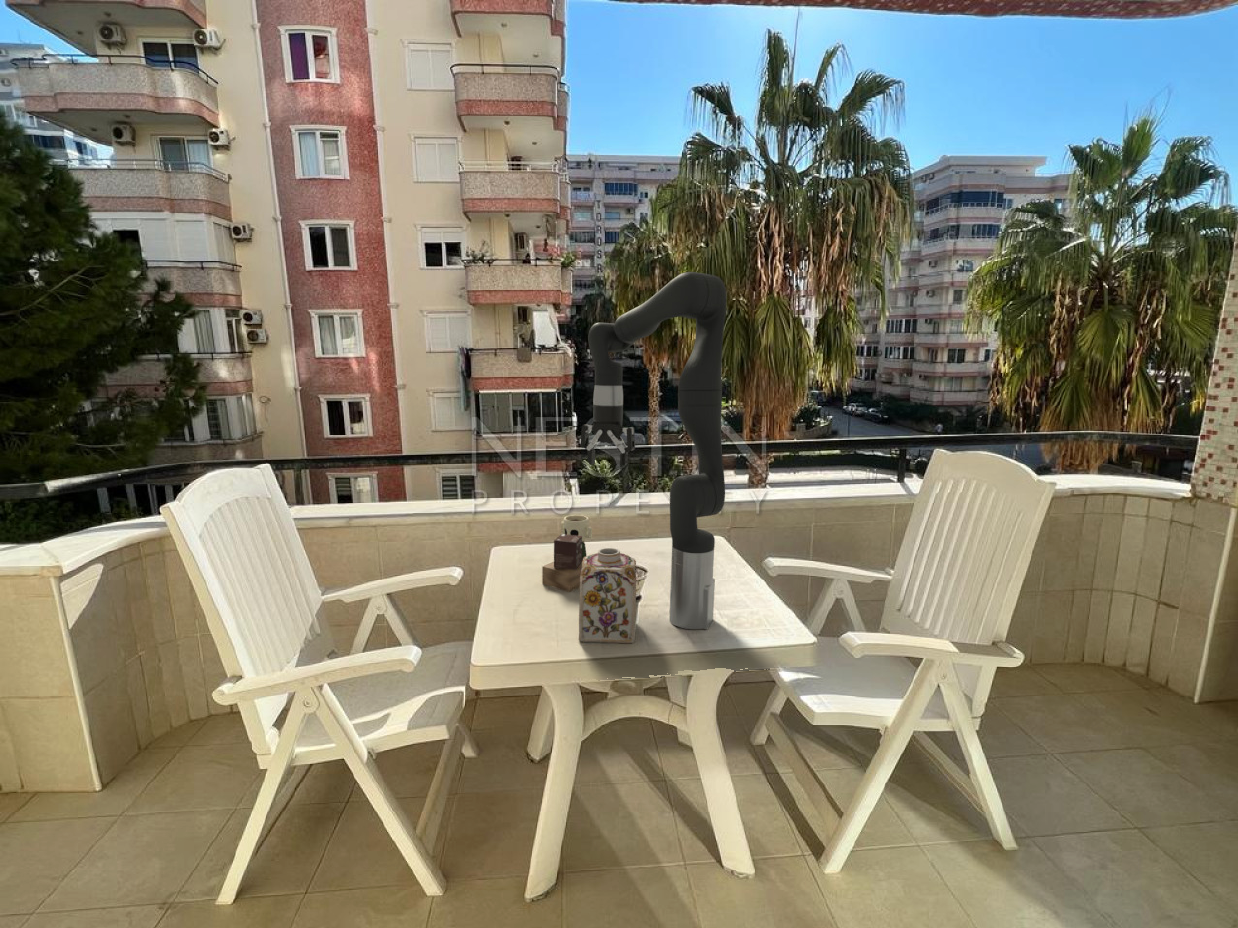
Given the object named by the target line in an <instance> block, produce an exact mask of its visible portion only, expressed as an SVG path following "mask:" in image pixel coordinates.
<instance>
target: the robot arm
mask: <svg viewBox="0 0 1238 928" xmlns="http://www.w3.org/2000/svg"><path fill="white" fill-rule="evenodd" d="M726 311H727V290H726V286H725V283H724V281H723V280H722V278H721V277H719V276H717V275H714V274H709V273H704V272H703V273H702V272H695V271H686V272H682V273H680V274H678V275H676V277H674V278H673V279H671V280H670V281H669V282H668V283H667V284H666V285H664V286H663V287H662V288H661V289H659V290H658V291H657V292H656V293H654V295H653V296H651V297H650V298H649V299H647V300H646V301H644V302H643V303H642V304H640V305H639V306H636V307H635V308H632V309H631V310H628V311H627V312H625V313H622V314H621V315H620V316H619V317H618V318H617V319H616V320H615V322H610V323H609V322H595V323H594V324H593V325H592V326H591V327H590V329H589V331H588V332H589V333H588V335H587V337H588V339H587V341H588V346H589V350H590V354H591V358H592V363H593V366H594V389H593V399H592V402H593V407H592V408H593V409H592V410H593V411H592V413H593V417H592V418H593V419H592V421H593V424H592V425H591V424H588V423H586V424H582V425H581V428H580V429H581V430H580V432H581V435H580V447H581V448H582V449H586V451H587V463H588V464H589V466H593V465H595V464H596V450H595V448H596V447H597V446H598V445H599V444H602V443H603V444H604V443H607V444H614V445H615V447H617V448H618V450H619V451H620V453H619V468H620V469H621V468H625V467H626V466H627V465H628V455H629V452H632V451H634V450H635V449H636V443H635V441H636V440H635V439H636V438H635V437H636V436H635V428H634V427H633V426H631V427H624V426H623V420H624V419H623V417H624V416H623V415H624V409H623V408H624V390H623V365H622V364H621V363H620V362H618V361H614V360H612V359H611V356H610V354H609V352H611V353H621V352H624V351H626V350H628V349H629V348H631V346H632V345H634V344H635V342H638V341H640V340H641V339H644V338H646V337H648V336H650V335H652V334H653V333H654V332H655V331H656V330H657V329H658V328H659V326H660V324H661V323H662V322H663V321H667V320H669V319H674V318H679V317H681V318H682V317H683V318H686V319H692V320H693V319H694V320H695V339H694V340H695V341H694V345H693V349H692V351H691V353H690V356H689V358H688V359H687V361H686V362H685V363H686V364H685V365H684V368H683V370H682V371H681V373H680V377H679V380H678V385H677V387H678V390H677V400H678V401H677V404H678V405H677V408H678V409H677V412H678V415H679V419H680V421H681V423H682V426H683V428H684V429H685V431H686V433H687V434H688V436H689V437H690V439H691V442H692V443H693V446H694V447H695V449H696V454H697V461H698V473H697V474H687V475H685V474H684V475H680V476H677V477H675V478H674V480H673V481H672V483H671V485H670V490H669V530H670V531H669V532H670V535H671V565H670V567H671V569H670V591H669V592H670V593H669V594H670V595H669V613H668V614H669V619H668V620H669V621H670V623H671V624H672V625H674V626H675V627H679V628H682V629H687V630H700V629H701V630H708V628H709V627H710V625H711V623H712V622H713V619H714V606H715V583H716V579H715V578H714V564H715V563H714V562H715V561H714V560H715V558H714V557H715V547H716V546H715V545H716V544H715V543H716V542H715V540H716V539H715V535H714V534H712V533H711V532H710V531H707V530H704V529H702V528H701V529H700V528H699V527H698V520H697V519H698V518H702V517H710V516H715V515H718V514H719V513H720V512H721V511H722V509H723V508H724V505H725V501H726V500H725V499H726V484H725V473H724V471H725V469H724V461H723V447H722V411H723V410H722V409H723V406H722V403H723V395H722V394H723V388H722V387H723V385H722V380H723V379H722V369H723V368H722V367H723V363H722V362H723V361H722V360H723V342H724V341H723V339H724V330H725V321H726V320H725V319H726ZM590 433H593V434H594V436H593V438H592V439H591V440H590V439H589V438H590ZM623 433H624V436H626V443H625V441H624V439H623V437H622V435H623ZM589 441H590V443H589Z"/></svg>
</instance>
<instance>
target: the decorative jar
mask: <svg viewBox="0 0 1238 928" xmlns="http://www.w3.org/2000/svg"><path fill="white" fill-rule="evenodd" d="M636 566H637V561H636V559H635V558H634V557H632V556H630V555H628V554H625V553H621V550H619V549H618V548H613V547H607V548H606V547H605V548H602V549H601V548H600V549H599V550H598V551H597V553H593V554H589V555H586V557H584V558H583V560H582V567H581V569H582V570H581V573H580V579H579V580H580V587H579V601H578V602H579V609H578V641H579V642H581V643H606V644H607V643H609V644H634V643H635V640H636V638H635V637H636V635H635V633H636V618H637V617H636V613H637V612H636V609H637V608H636V607H637V606H636V605H637V568H636Z"/></svg>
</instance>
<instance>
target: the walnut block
mask: <svg viewBox="0 0 1238 928" xmlns="http://www.w3.org/2000/svg"><path fill="white" fill-rule="evenodd" d="M541 567H542V568H541V569H542V571H541V573H542V574H541V577H542V580H541V581H542V583H541V584H542V585H546V586H548V587H552V588H555V589H559V590H562V591H565V592H568V593H571V592H572V591H574V590H576V589H580V580H579V579H580V573H581V570H582V569H581V567H582V563H581V564H580V565H579V567H578V568H577V569H565V568H554V561H552V562H549V563H548V564H544V565H543V566H541Z"/></svg>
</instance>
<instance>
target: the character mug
mask: <svg viewBox="0 0 1238 928" xmlns="http://www.w3.org/2000/svg"><path fill="white" fill-rule="evenodd" d="M589 522H590V519H589V517H588V516H585V515H581V514H578V515H577V514H572V515H567V516H564V518H563V520H562V521H561V523H560V531H561V532H562V534H564V535H577V536H582V560H583V558H584V557H586V556H587V549H586V541H588V540H589V539H592V537H593V536H592V535H593V534H592V533H593V529H592V527H591V526H589V525H590V523H589Z"/></svg>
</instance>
